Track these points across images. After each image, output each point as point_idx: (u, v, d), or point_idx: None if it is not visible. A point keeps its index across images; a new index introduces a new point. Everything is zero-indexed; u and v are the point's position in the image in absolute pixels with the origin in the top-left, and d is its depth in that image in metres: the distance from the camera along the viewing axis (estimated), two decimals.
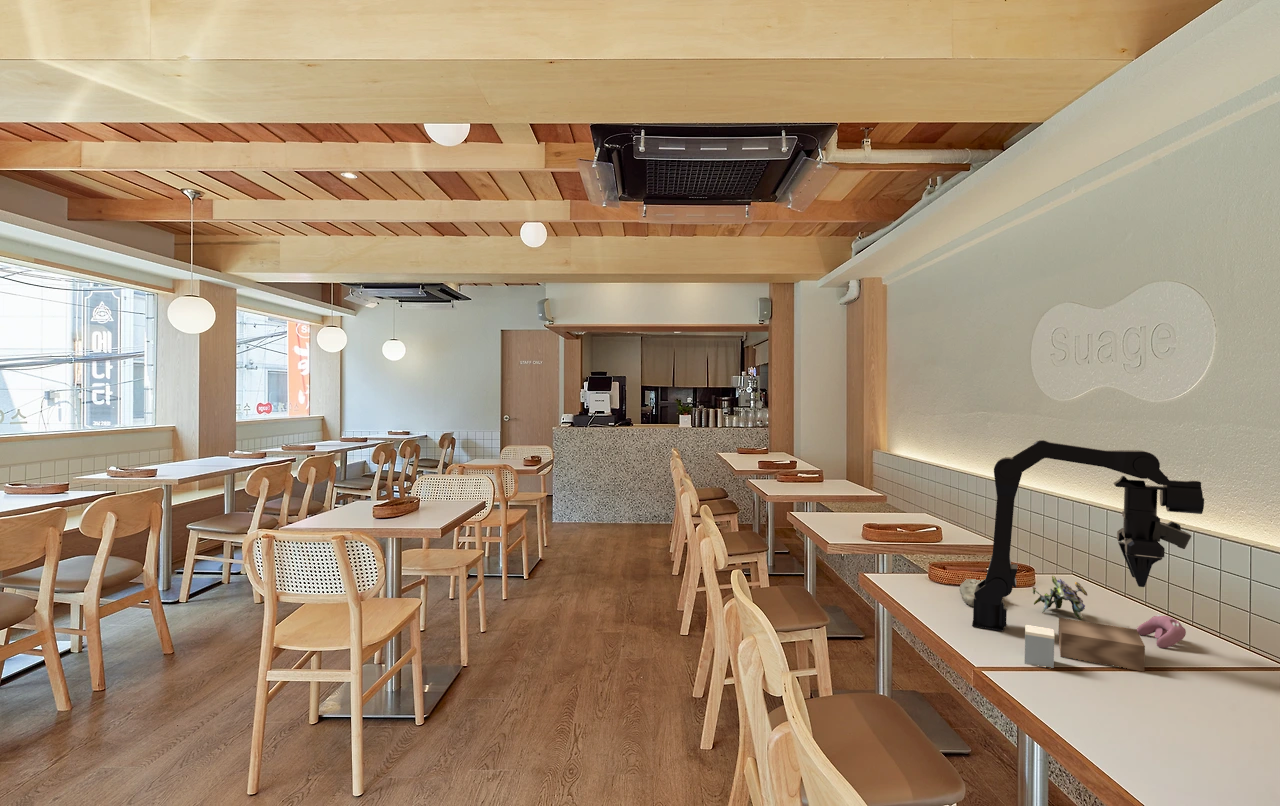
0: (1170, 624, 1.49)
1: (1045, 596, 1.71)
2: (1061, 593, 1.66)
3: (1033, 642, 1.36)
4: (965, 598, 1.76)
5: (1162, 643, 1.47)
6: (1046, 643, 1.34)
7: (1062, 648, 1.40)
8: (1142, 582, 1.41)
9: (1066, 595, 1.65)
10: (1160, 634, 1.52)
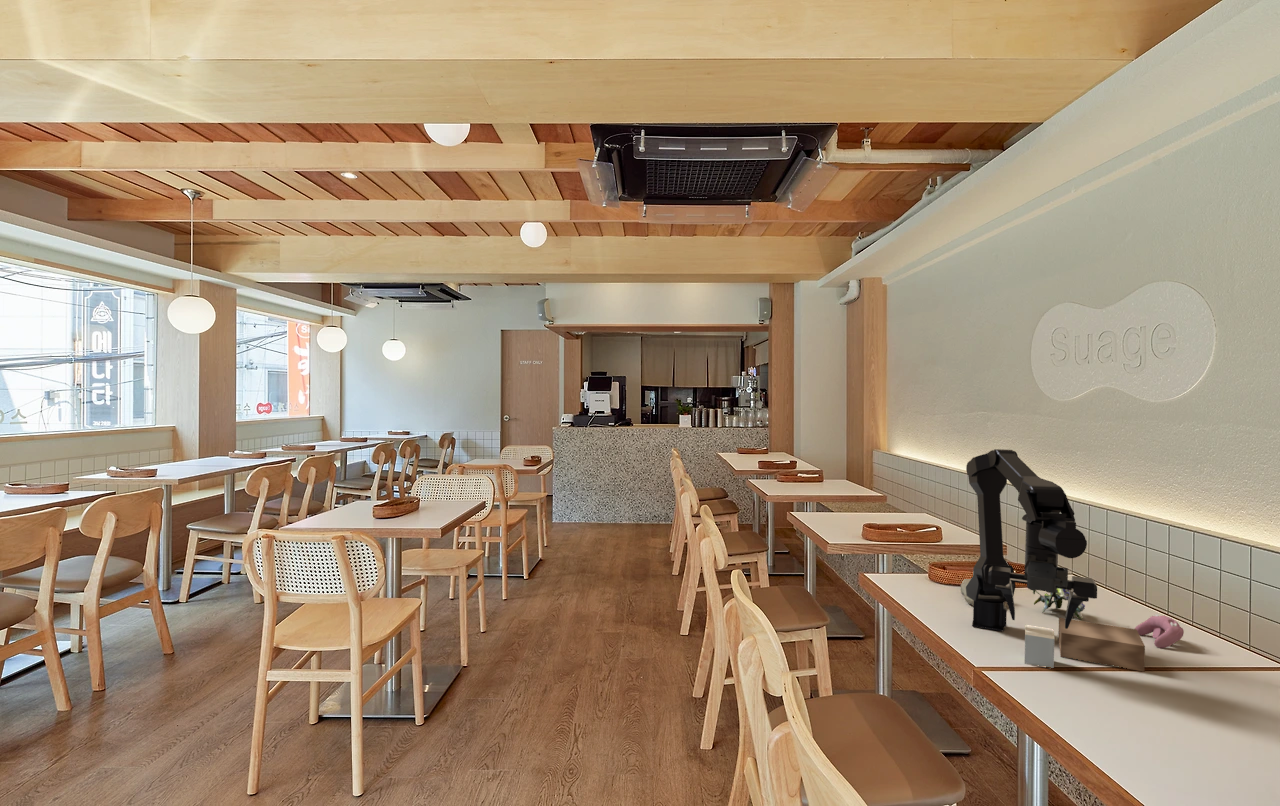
0: (1168, 624, 1.49)
1: (1045, 596, 1.71)
2: (1061, 593, 1.66)
3: (1033, 642, 1.36)
4: (968, 599, 1.75)
5: (1160, 643, 1.47)
6: (1046, 643, 1.34)
7: (1062, 648, 1.40)
8: None
9: (1066, 595, 1.65)
10: (1158, 634, 1.52)
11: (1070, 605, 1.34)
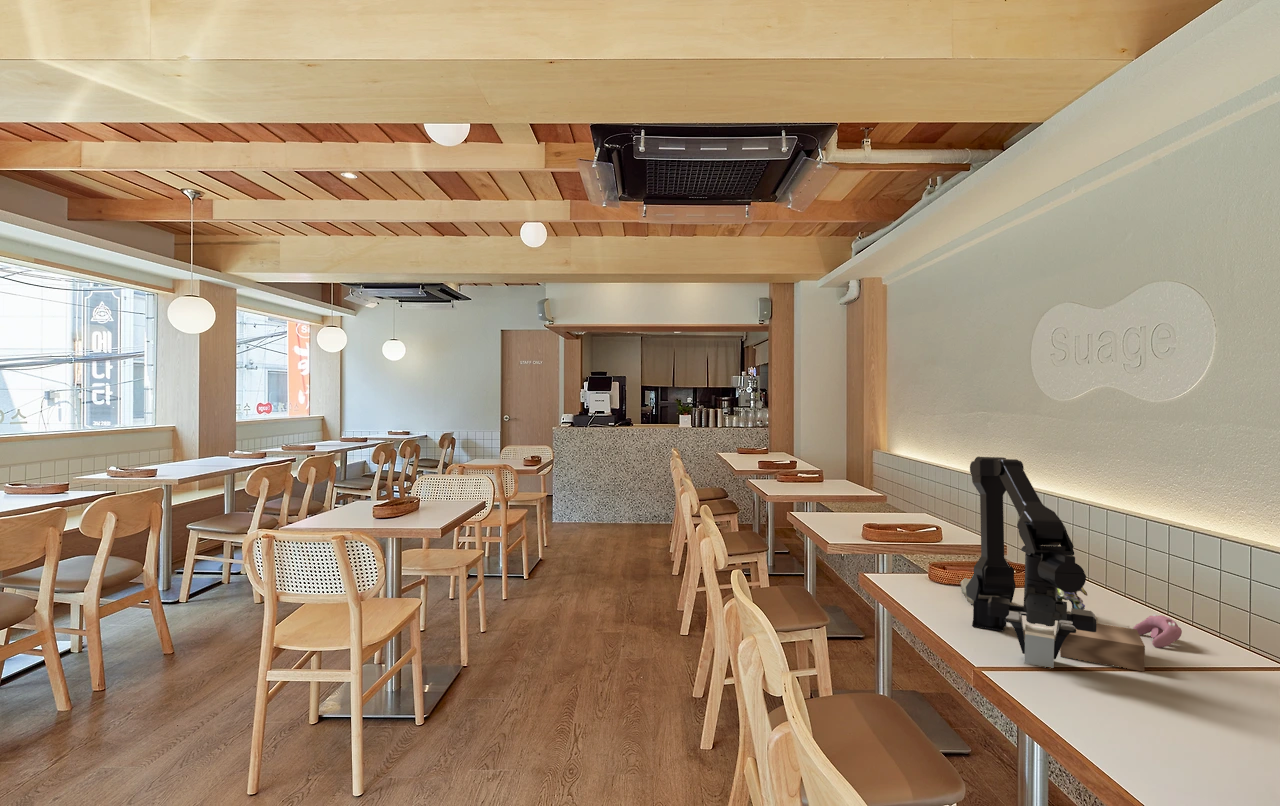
0: (1166, 624, 1.49)
1: None
2: (1061, 593, 1.66)
3: (1033, 642, 1.36)
4: None
5: (1158, 642, 1.47)
6: (1046, 643, 1.34)
7: (1062, 648, 1.40)
8: (1021, 647, 1.39)
9: (1066, 595, 1.65)
10: (1156, 634, 1.52)
11: (1058, 636, 1.34)
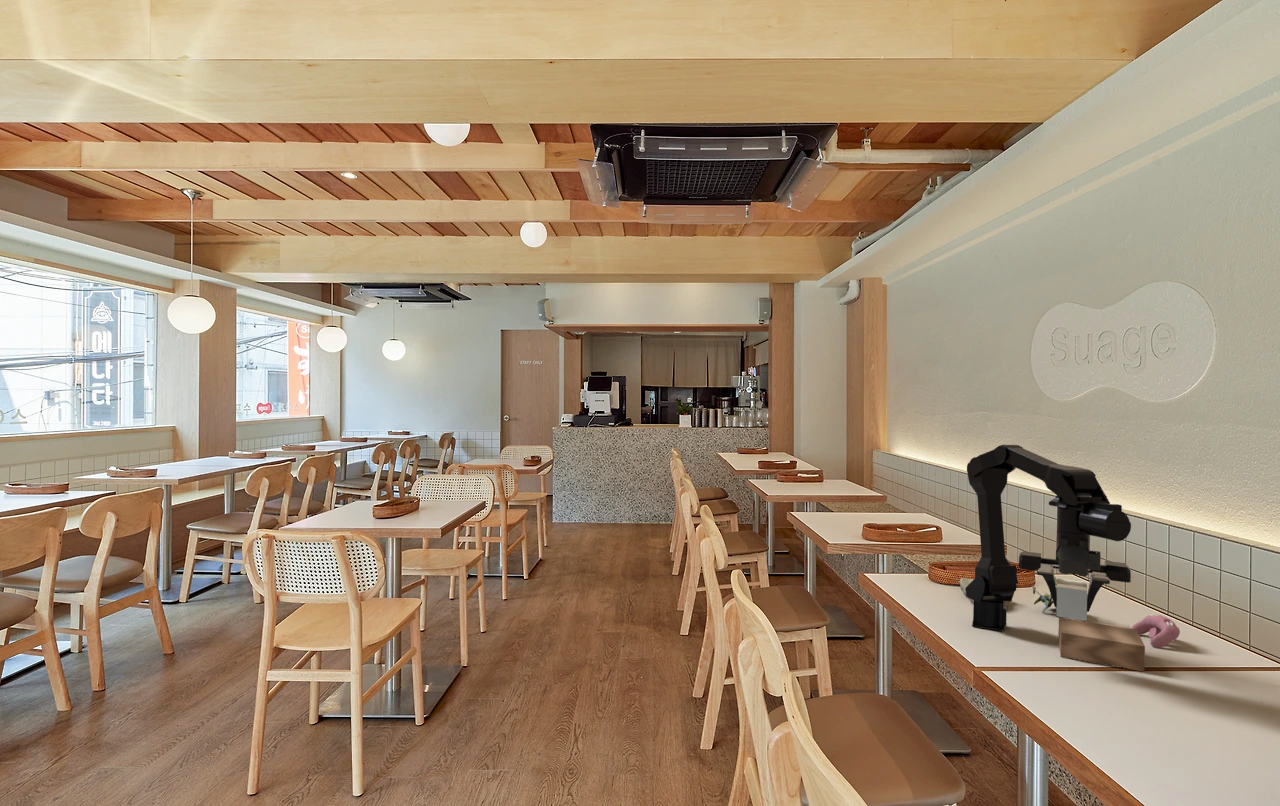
0: (1164, 624, 1.49)
1: (1045, 596, 1.71)
2: None
3: (1065, 594, 1.35)
4: None
5: (1156, 642, 1.47)
6: (1079, 595, 1.34)
7: (1062, 648, 1.40)
8: (1053, 601, 1.38)
9: None
10: (1154, 634, 1.52)
11: (1091, 588, 1.34)
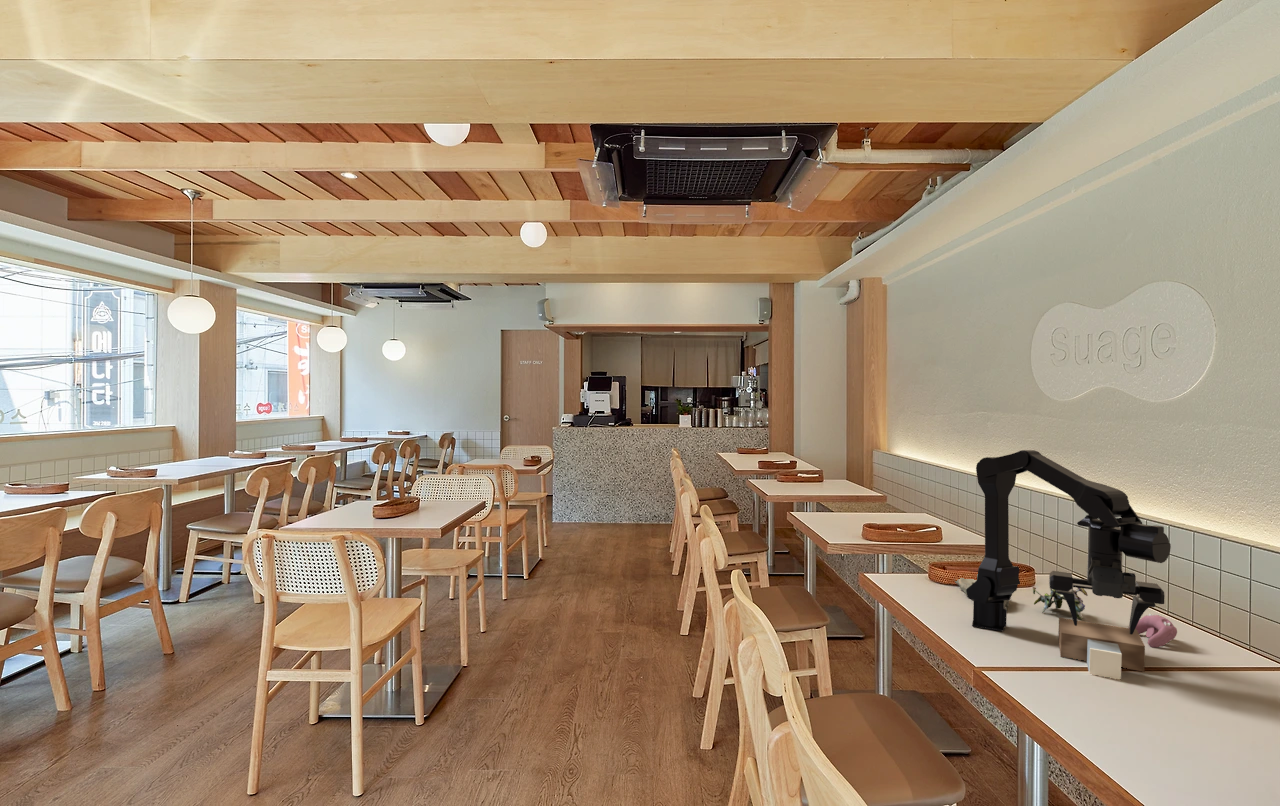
0: (1161, 623, 1.49)
1: (1045, 596, 1.71)
2: None
3: None
4: None
5: (1154, 642, 1.47)
6: None
7: (1062, 648, 1.40)
8: None
9: None
10: (1151, 633, 1.52)
11: (1135, 611, 1.32)
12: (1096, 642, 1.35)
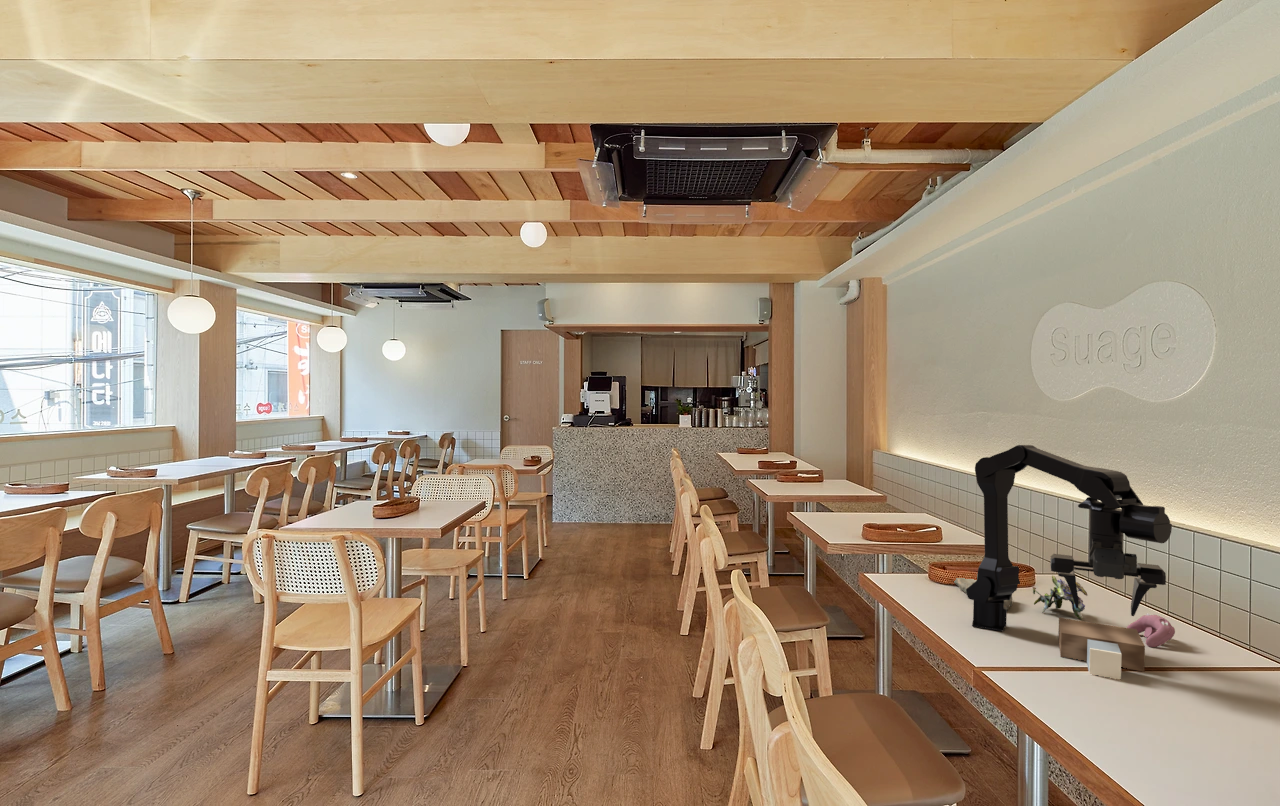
0: (1159, 623, 1.49)
1: (1045, 596, 1.71)
2: (1061, 593, 1.66)
3: None
4: None
5: (1152, 642, 1.48)
6: None
7: (1062, 648, 1.40)
8: (1074, 602, 1.38)
9: (1066, 595, 1.65)
10: (1149, 633, 1.53)
11: (1137, 592, 1.32)
12: (1096, 642, 1.35)
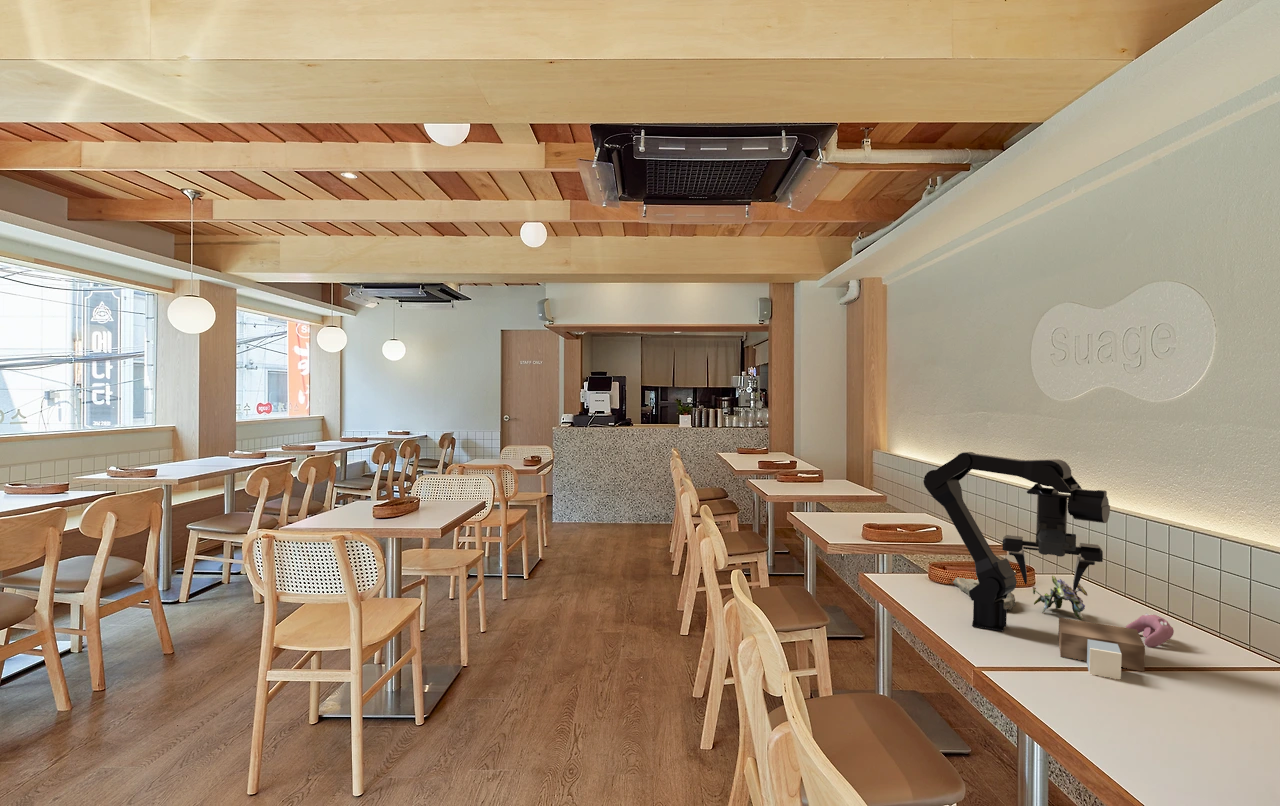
0: (1158, 623, 1.49)
1: (1045, 596, 1.71)
2: (1061, 593, 1.66)
3: None
4: None
5: (1150, 642, 1.48)
6: None
7: (1062, 648, 1.40)
8: (1023, 578, 1.53)
9: (1066, 595, 1.65)
10: (1148, 633, 1.53)
11: (1078, 569, 1.46)
12: (1096, 642, 1.35)
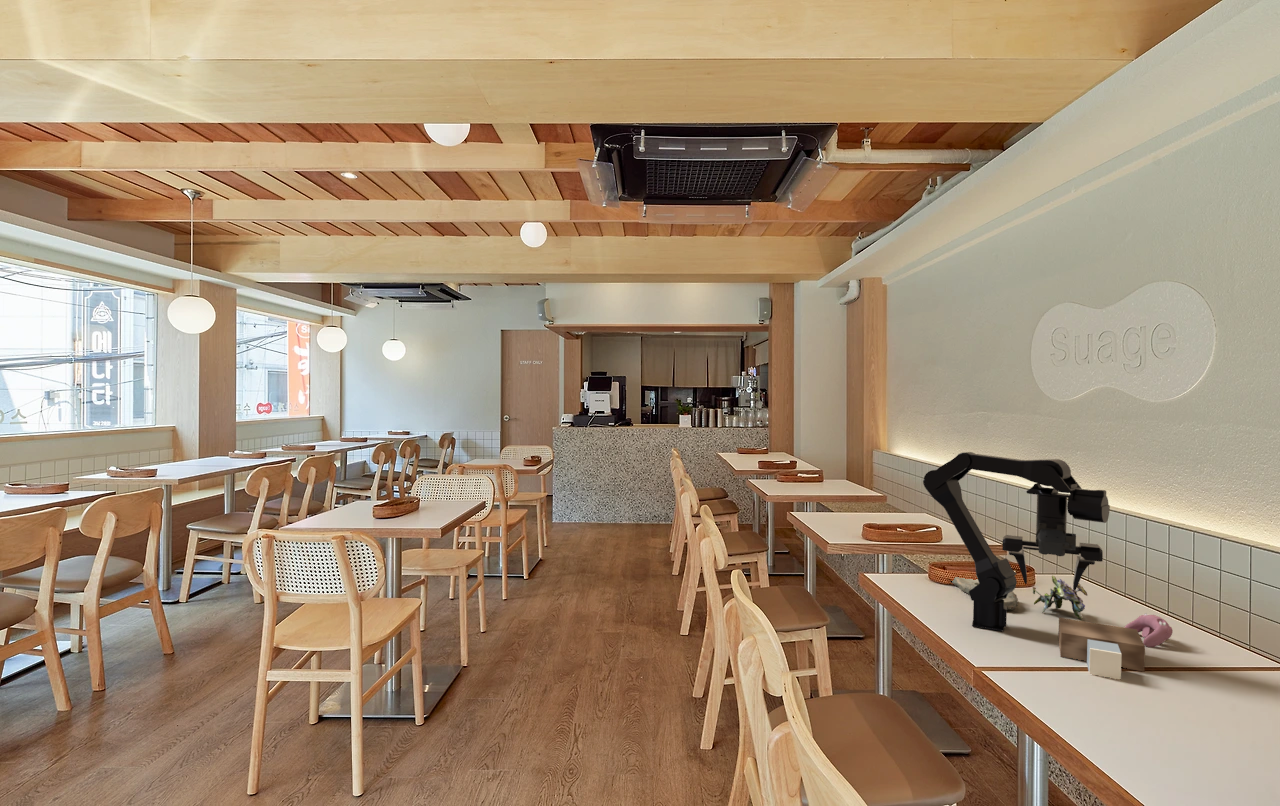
0: (1157, 623, 1.49)
1: (1045, 596, 1.71)
2: (1061, 593, 1.66)
3: None
4: None
5: (1149, 642, 1.48)
6: None
7: (1062, 648, 1.40)
8: (1023, 578, 1.53)
9: (1066, 595, 1.65)
10: (1147, 633, 1.53)
11: (1078, 568, 1.46)
12: (1096, 642, 1.35)
